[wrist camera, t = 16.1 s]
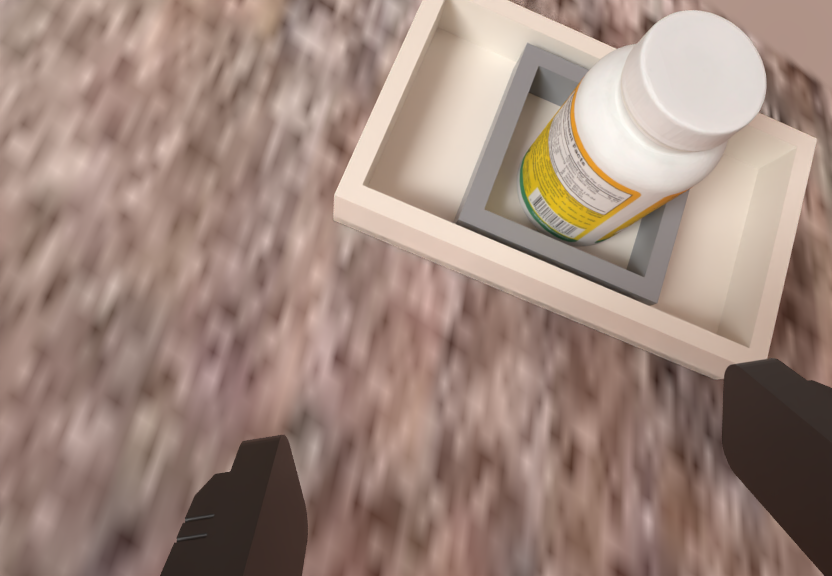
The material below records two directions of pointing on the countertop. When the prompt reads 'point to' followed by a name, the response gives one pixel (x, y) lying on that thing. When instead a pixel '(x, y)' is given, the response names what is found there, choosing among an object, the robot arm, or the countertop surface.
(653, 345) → the walled box
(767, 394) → the robot arm
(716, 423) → the countertop surface
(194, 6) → the countertop surface
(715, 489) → the countertop surface
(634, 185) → the supplement bottle
